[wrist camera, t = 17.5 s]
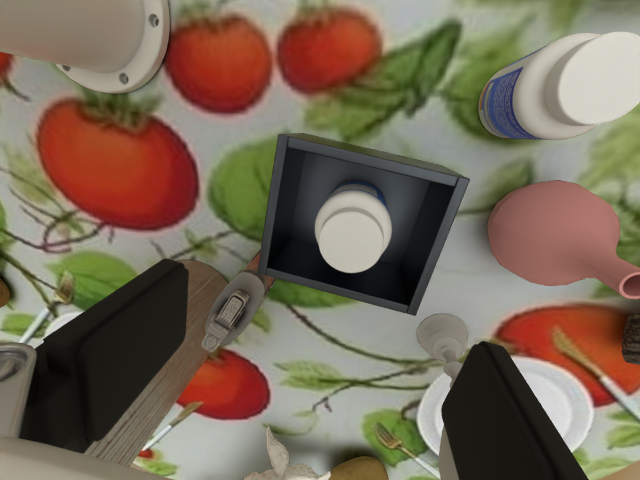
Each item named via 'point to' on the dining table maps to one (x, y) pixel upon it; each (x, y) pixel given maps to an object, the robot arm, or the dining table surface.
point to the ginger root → (3, 294)
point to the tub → (403, 205)
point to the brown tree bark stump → (631, 339)
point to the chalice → (445, 367)
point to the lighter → (236, 305)
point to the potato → (359, 470)
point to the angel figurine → (284, 465)
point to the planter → (165, 374)
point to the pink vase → (560, 237)
